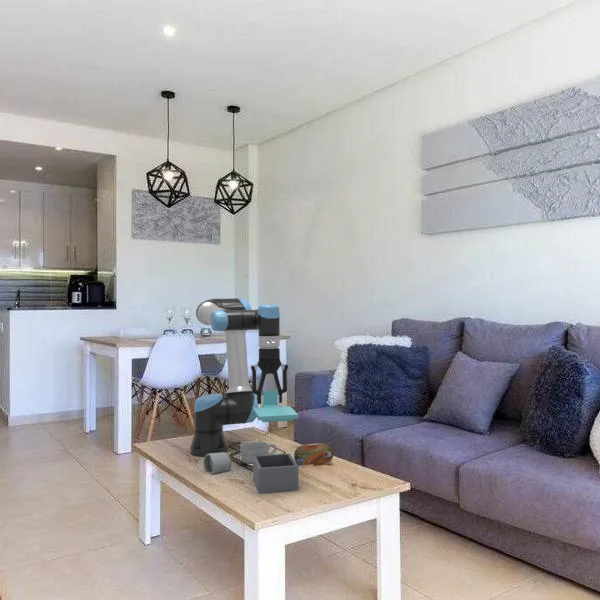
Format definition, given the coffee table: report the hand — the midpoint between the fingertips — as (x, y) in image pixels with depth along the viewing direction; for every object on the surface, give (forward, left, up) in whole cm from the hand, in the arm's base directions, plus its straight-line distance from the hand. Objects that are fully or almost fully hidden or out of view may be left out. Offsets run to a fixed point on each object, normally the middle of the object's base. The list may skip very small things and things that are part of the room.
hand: (269, 412), depth 197 cm
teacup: (-15, -2, -23) cm, 28 cm away
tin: (-8, +18, -23) cm, 30 cm away
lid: (+9, 0, +1) cm, 9 cm away
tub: (+12, 0, -23) cm, 26 cm away
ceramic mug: (-9, -19, -23) cm, 31 cm away
